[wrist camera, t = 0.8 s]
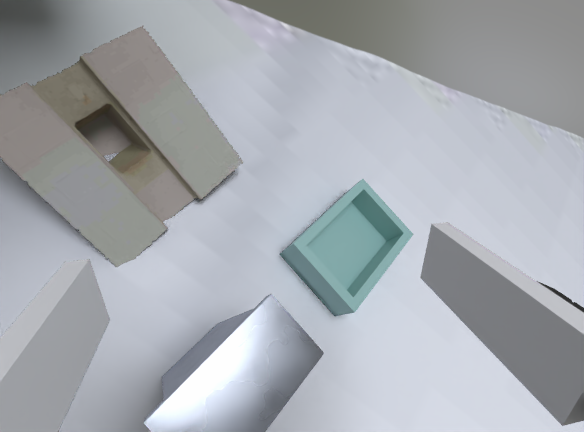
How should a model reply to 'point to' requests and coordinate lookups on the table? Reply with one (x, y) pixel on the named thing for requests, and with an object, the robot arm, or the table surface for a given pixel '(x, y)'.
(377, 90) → the table surface
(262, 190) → the table surface
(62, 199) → the wall
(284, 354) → the brushed metal pillar
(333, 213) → the tray
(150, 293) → the table surface
